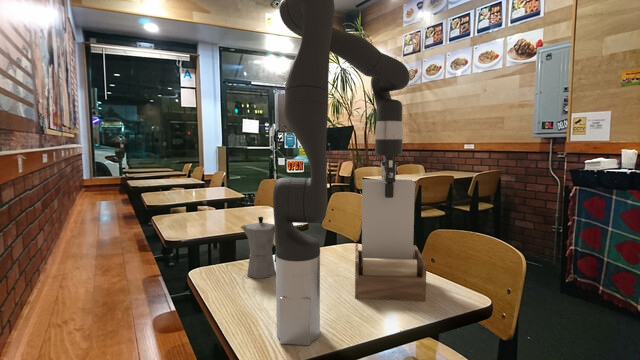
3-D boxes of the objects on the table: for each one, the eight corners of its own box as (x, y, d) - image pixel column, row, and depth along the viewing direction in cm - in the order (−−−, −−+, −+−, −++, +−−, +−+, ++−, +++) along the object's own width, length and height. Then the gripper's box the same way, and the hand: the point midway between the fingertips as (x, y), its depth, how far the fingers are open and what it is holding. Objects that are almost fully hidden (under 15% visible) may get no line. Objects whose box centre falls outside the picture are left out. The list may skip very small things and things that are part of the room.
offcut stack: (416, 298, 94) (417, 261, 93) (362, 295, 95) (363, 259, 94) (413, 292, 98) (414, 256, 97) (362, 290, 99) (362, 254, 98)
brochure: (409, 280, 106) (412, 179, 103) (412, 287, 101) (415, 181, 98) (361, 278, 108) (362, 179, 105) (361, 285, 102) (362, 181, 99)
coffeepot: (235, 277, 108) (233, 218, 107) (248, 266, 118) (246, 213, 116) (283, 281, 105) (283, 221, 103) (293, 270, 114) (292, 215, 113)
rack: (425, 301, 92) (426, 263, 91) (355, 298, 94) (355, 261, 93) (414, 277, 108) (415, 245, 107) (355, 275, 110) (355, 243, 109)
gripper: (406, 137, 93) (404, 199, 94) (399, 138, 107) (398, 192, 108) (376, 137, 93) (375, 199, 95) (373, 138, 108) (373, 192, 109)
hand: (387, 195), depth 102 cm, fingers open, 8 cm apart
